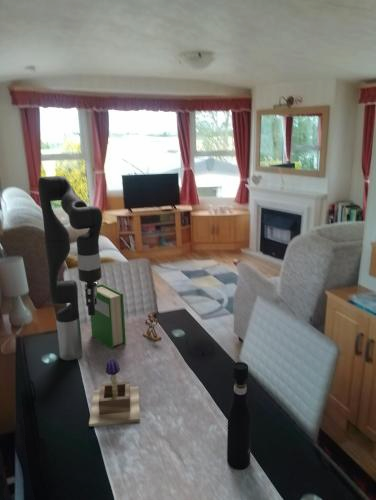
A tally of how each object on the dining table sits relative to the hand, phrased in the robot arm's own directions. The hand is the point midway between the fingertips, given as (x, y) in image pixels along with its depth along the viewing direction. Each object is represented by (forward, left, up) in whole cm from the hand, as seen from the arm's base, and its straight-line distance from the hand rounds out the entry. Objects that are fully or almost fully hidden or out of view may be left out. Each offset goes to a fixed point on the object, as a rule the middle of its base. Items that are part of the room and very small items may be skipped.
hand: (92, 309), depth 138 cm
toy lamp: (+12, +7, -30) cm, 33 cm away
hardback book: (-38, +2, -31) cm, 49 cm away
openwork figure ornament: (-37, +22, -31) cm, 53 cm away
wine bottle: (+42, +42, -31) cm, 67 cm away
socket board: (+12, +7, -31) cm, 34 cm away
